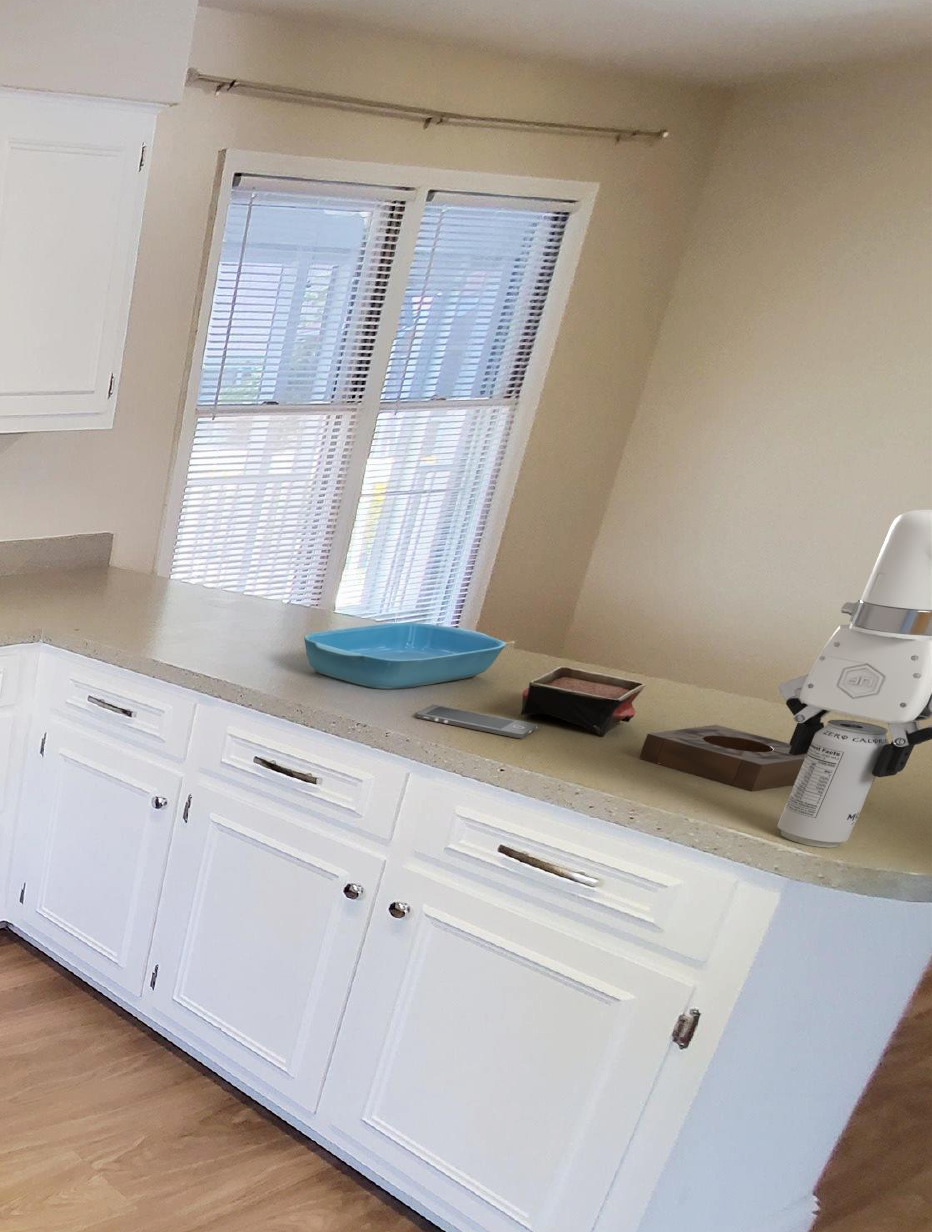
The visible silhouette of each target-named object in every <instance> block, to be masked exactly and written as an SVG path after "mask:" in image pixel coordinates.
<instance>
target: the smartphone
mask: <svg viewBox="0 0 932 1232" xmlns="http://www.w3.org/2000/svg"><path fill="white" fill-rule="evenodd" d="M414 718H417V719H423V720H426V721H432V722H436V723H442V724H447V725H451V726H456V727H460V728H466V729H471V730H477V731H481V732H485V733H490V734H491V733H492V734H496V735H500V736H505V737H511V738H516V739H523V738H524V737H525V738H526V736H527V735H528V736H529V735H530V734H531V733H532V732H534V731H536V730H538V727H539V724H537V723H532V722H528V721H522V720H517V719H512V718H508V717H502V716H496V715H493V714H487V713H481V712H476V711H472V710H471V711H470V710H467V709H466V710H465V709H461V708H455V707H451V706H445V705H439V704H431V705H428V706H427V707H425V708H423V709H421V710H418V711H416V712H415V714H414Z"/></svg>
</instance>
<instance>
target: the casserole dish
mask: <svg viewBox="0 0 932 1232" xmlns="http://www.w3.org/2000/svg"><path fill="white" fill-rule="evenodd" d="M303 639H304V646H305V647H304V648H305V652H306V658H307V661H308V663H309V665H310V666H311V668H312V670H314V671H315V672H316V673H318V674H321V675H324V676H326V677H330V678H333V679H335V680H336V679H337V680H339V681H344V682H347V683H351V684H354V685H356V686H357V685H358V686H362V687H366V688H370V689H371V688H372V689H380V690H400V689H408V688H416V687H422V686H423V687H424V686H428V685H434V684H441V683H447V682H452V681H453V682H454V681H458V680H465V679H470V678H473V677H475V676H479V675H481V674H483V673H484V672H486V671H487V670H488V669H490V667H491V666H492V665H493V664H494V663H495V661H496V660H497V658H498V656H500V654H501V652H502V651H503V650H504V649H505V647H506V646H507V643H506V642H505V641H503V640H500V639H498V638H495V637H493V636H490V635H488V634H486V633H483V632H480V631H476V630H471V629H467V628H461V627H454V626H448V625H447V626H445V625H437V624H430V623H422V622H421V623H419V622H393V623H392V622H391V623H380V624H374V625H364V626H357V627H356V626H355V627H349V628H339V629H331V630H326V631H325V630H324V631H318V632H312V633H308V634H306V635H304V637H303Z"/></svg>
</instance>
